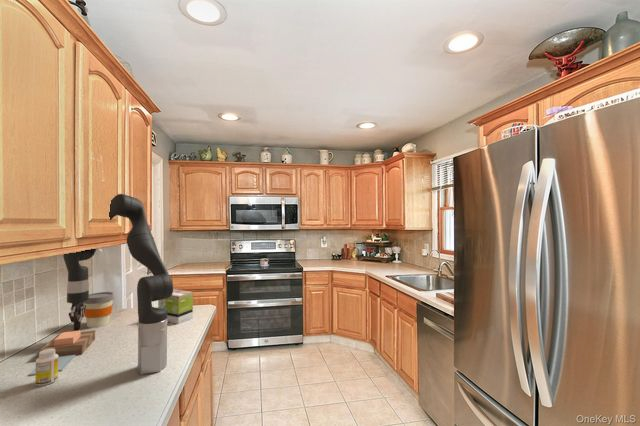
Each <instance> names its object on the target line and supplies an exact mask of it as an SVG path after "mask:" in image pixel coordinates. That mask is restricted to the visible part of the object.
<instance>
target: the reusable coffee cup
mask: <svg viewBox="0 0 640 426" xmlns="http://www.w3.org/2000/svg"><path fill="white" fill-rule="evenodd" d="M114 298H115V297H114V292H111V291H103V292H95V293H89V299H88V300H87V301H84V304H85V305H86V308H85V312H84V317H85V321H86V327H87V328H89V329H90V328H91V329H95V328H100V327H105V326H107V325H108V324H109V323H110V319H111V314H112V311H113V307H114V306H113V305H114V303H113V300H114Z"/></svg>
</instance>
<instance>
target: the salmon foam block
mask: <svg viewBox="0 0 640 426" xmlns="http://www.w3.org/2000/svg"><path fill="white" fill-rule="evenodd" d="M81 332H82V331H81V330H78V331H74V330H73V331H65V332H62V333H60V334H61V335H59V334H58V335H59V336H58V337H57V338H56V339H55V340H54V346H59V345H67V344H73V343H74V342H75V341H76V340H78V339H79V338H80V337H81Z"/></svg>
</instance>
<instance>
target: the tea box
mask: <svg viewBox="0 0 640 426" xmlns="http://www.w3.org/2000/svg"><path fill="white" fill-rule="evenodd" d="M157 302H158V306H157V308H162V309H165V310H167V323H172V324H176V325H179V324H182V323H184V322H187V321H190V320H192V319H193V312H194V310H193V309H194V307H193V306H194V305H193V304H194V292H193V291H189V290H188V291H187V290H182V289H176V288H173V294H172V295H171V297H169V298H166V299H162V300H158V301H157Z"/></svg>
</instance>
